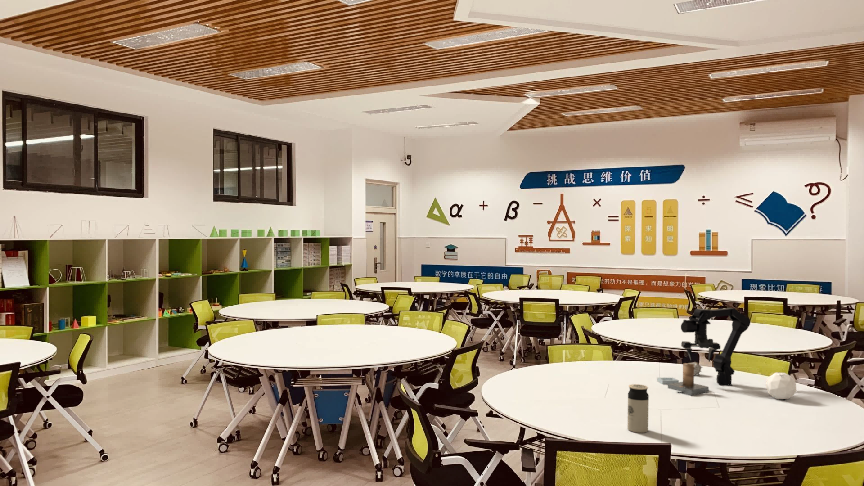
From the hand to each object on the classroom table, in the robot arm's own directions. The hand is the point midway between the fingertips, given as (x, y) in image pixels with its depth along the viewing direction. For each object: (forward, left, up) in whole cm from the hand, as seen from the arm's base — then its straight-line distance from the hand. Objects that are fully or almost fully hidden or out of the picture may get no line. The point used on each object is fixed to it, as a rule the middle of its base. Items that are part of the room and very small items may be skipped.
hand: (700, 361), depth 337 cm
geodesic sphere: (-32, +23, -13) cm, 42 cm away
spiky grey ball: (-4, -27, -13) cm, 30 cm away
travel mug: (+48, +90, -13) cm, 103 cm away
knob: (+10, +15, -12) cm, 22 cm away
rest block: (+17, +2, -13) cm, 21 cm away
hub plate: (+10, +16, -13) cm, 23 cm away
